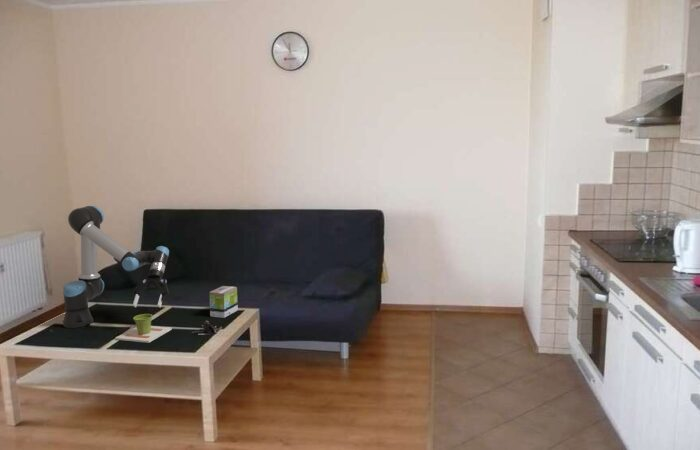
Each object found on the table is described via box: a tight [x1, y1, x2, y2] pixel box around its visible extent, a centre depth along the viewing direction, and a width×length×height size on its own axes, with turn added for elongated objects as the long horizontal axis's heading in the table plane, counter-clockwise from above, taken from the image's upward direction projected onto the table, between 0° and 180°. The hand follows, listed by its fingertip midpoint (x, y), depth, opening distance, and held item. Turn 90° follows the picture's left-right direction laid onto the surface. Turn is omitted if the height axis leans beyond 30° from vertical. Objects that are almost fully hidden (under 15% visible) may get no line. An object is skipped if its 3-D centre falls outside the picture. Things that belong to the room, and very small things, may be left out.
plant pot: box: [132, 313, 153, 334], centre depth 298 cm, size 9×9×9 cm
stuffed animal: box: [191, 320, 223, 336], centre depth 301 cm, size 12×10×12 cm
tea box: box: [209, 285, 239, 319], centre depth 330 cm, size 15×10×15 cm
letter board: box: [114, 325, 173, 344], centre depth 298 cm, size 20×20×1 cm
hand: (146, 306), depth 302 cm, fingers open, 13 cm apart
